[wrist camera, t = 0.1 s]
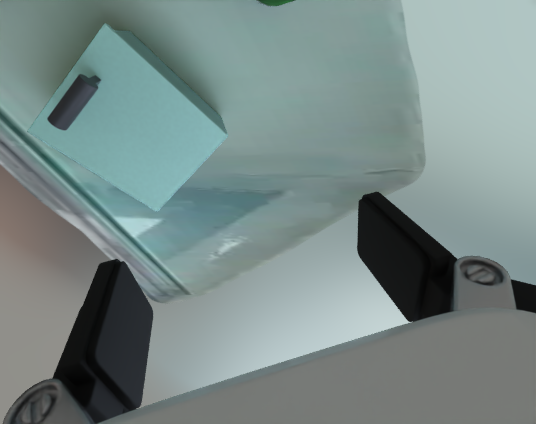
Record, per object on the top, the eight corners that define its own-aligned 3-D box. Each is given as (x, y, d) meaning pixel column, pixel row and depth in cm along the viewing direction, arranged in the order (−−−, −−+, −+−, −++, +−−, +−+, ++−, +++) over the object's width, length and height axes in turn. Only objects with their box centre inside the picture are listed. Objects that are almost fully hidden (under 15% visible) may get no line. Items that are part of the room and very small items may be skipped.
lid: (30, 129, 32) (4, 145, 28) (106, 23, 29) (91, 21, 24) (157, 209, 40) (153, 231, 36) (227, 134, 37) (232, 147, 33)
